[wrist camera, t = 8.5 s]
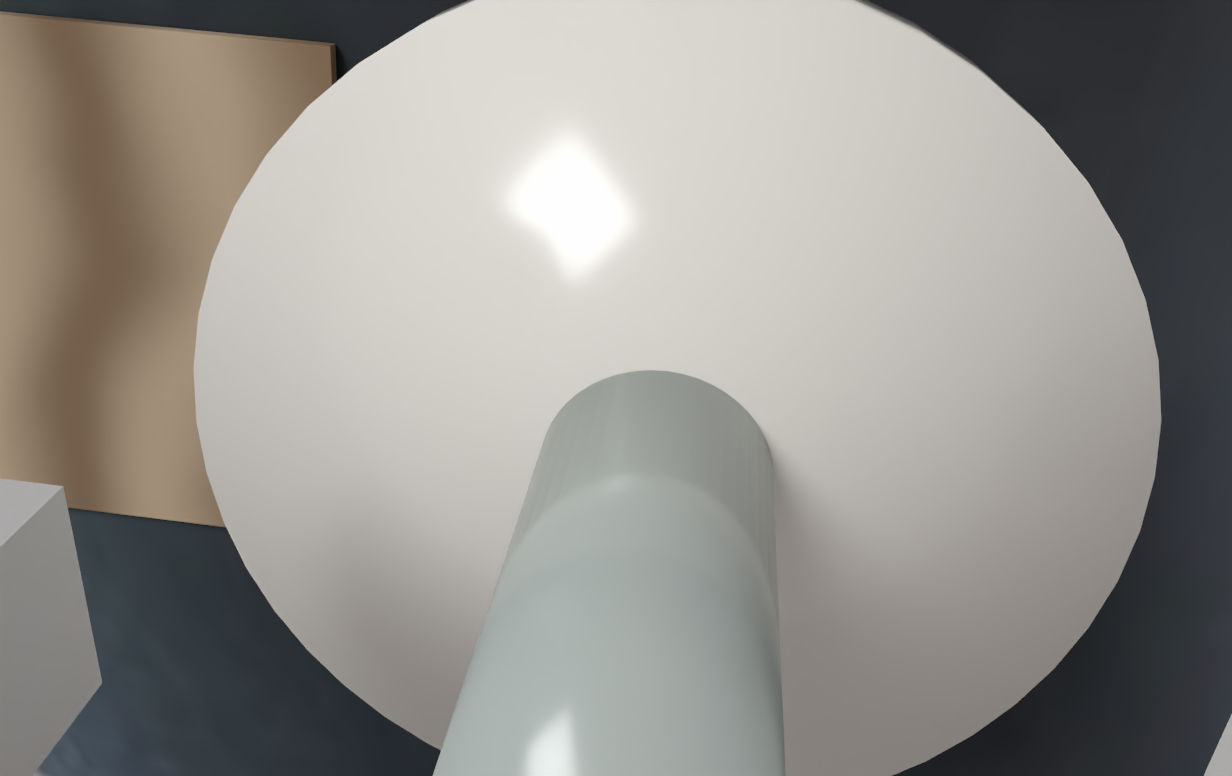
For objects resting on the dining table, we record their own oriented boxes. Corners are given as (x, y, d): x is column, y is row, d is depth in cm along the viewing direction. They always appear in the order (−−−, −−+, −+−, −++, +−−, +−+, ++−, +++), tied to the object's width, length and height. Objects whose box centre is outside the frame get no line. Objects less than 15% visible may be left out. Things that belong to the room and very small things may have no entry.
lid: (267, 704, 19) (-21, 1230, 12) (181, -87, 13) (-493, 19, 6) (1005, 803, 19) (1171, 1428, 11) (1273, 7, 12) (2001, 257, 5)
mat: (-97, 480, 37) (-105, 486, 37) (-234, -12, 30) (-246, -10, 29) (358, 536, 36) (355, 543, 36) (335, 43, 29) (330, 46, 28)
